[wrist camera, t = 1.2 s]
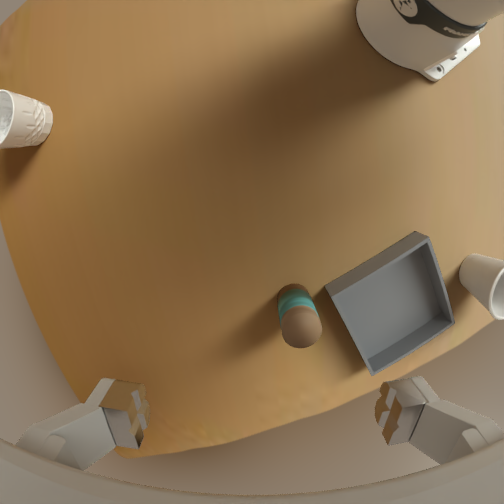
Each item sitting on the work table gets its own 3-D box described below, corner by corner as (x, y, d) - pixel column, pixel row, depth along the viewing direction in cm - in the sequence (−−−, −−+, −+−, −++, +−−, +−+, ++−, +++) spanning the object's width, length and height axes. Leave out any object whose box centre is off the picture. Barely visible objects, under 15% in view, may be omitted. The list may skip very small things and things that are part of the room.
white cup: (64, 111, 35) (22, 101, 26) (41, 158, 37) (-3, 159, 27) (35, 92, 34) (-6, 82, 25) (14, 136, 36) (-28, 134, 26)
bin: (415, 230, 39) (428, 236, 35) (442, 312, 42) (455, 323, 38) (324, 285, 41) (330, 297, 37) (364, 361, 44) (371, 376, 40)
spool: (300, 277, 41) (311, 305, 32) (315, 303, 42) (329, 336, 33) (270, 293, 42) (274, 325, 33) (286, 319, 43) (293, 354, 34)
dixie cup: (491, 280, 41) (527, 302, 31) (456, 303, 42) (491, 330, 32) (485, 236, 39) (525, 252, 29) (448, 258, 40) (487, 280, 30)
